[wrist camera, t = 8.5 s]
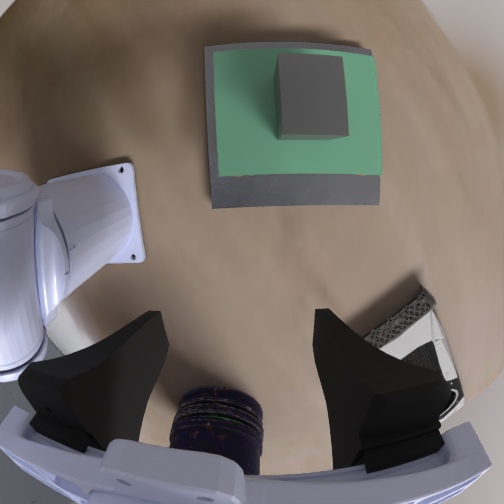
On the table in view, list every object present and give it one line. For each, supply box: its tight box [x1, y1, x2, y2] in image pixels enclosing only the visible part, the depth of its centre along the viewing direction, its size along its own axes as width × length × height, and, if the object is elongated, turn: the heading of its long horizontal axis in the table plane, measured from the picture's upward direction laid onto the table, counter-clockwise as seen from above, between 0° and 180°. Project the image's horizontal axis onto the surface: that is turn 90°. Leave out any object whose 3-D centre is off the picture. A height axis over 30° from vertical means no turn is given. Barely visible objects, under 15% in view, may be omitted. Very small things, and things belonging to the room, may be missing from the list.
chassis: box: [204, 42, 380, 209], centre depth 16 cm, size 12×12×2 cm
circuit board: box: [213, 48, 382, 177], centre depth 13 cm, size 10×8×5 cm
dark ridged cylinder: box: [169, 386, 263, 475], centre depth 21 cm, size 10×10×15 cm
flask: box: [0, 336, 80, 504], centre depth 15 cm, size 17×5×25 cm, turn 41°
